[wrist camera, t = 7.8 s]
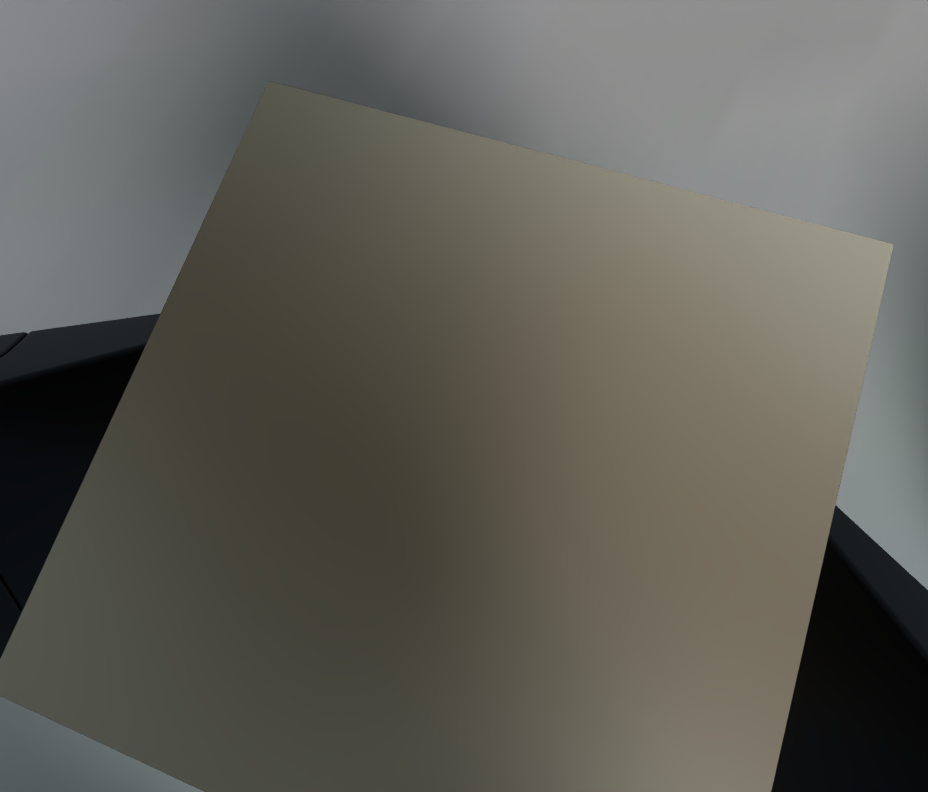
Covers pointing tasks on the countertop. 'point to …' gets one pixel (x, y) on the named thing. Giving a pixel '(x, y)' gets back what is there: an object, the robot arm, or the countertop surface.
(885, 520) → the countertop surface
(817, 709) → the robot arm
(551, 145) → the countertop surface
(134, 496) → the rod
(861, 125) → the countertop surface
